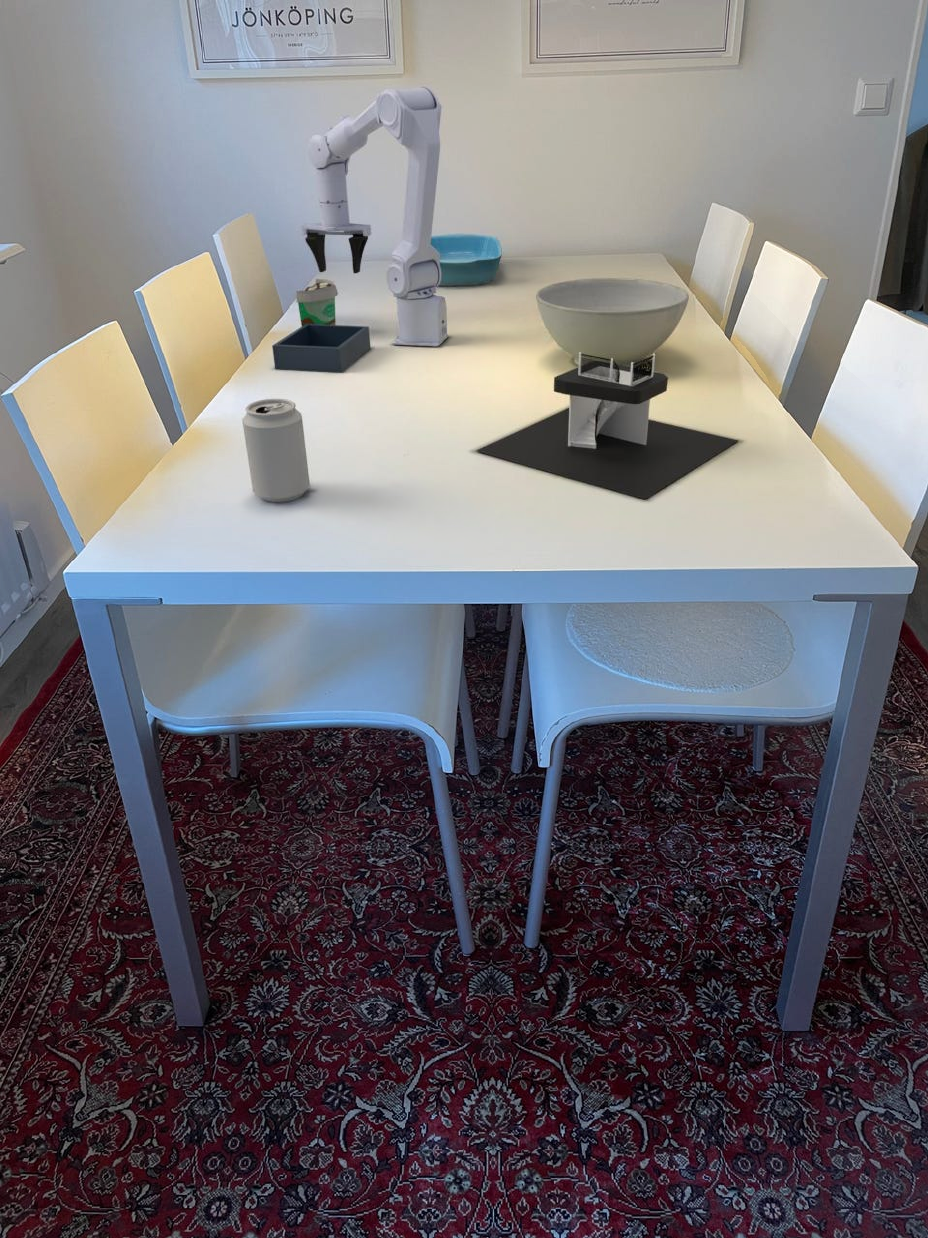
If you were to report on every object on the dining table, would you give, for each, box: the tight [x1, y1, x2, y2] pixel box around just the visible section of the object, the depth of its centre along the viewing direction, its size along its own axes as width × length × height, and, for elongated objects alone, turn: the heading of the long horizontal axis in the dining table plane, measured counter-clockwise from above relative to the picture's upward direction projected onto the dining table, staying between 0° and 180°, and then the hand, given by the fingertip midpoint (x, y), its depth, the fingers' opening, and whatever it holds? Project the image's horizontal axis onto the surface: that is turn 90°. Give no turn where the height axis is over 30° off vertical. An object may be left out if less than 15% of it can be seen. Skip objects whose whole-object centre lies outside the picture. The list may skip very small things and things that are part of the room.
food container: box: [295, 278, 339, 327], centre depth 190 cm, size 12×6×10 cm, turn 168°
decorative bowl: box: [535, 277, 690, 368], centre depth 169 cm, size 27×27×12 cm
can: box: [241, 398, 311, 503], centre depth 121 cm, size 8×8×12 cm
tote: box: [271, 324, 372, 373], centre depth 177 cm, size 13×16×4 cm
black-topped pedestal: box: [475, 352, 739, 500], centre depth 132 cm, size 28×26×13 cm
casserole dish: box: [431, 233, 503, 287], centre depth 240 cm, size 37×22×7 cm, turn 0°
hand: (339, 271), depth 196 cm, fingers open, 7 cm apart
